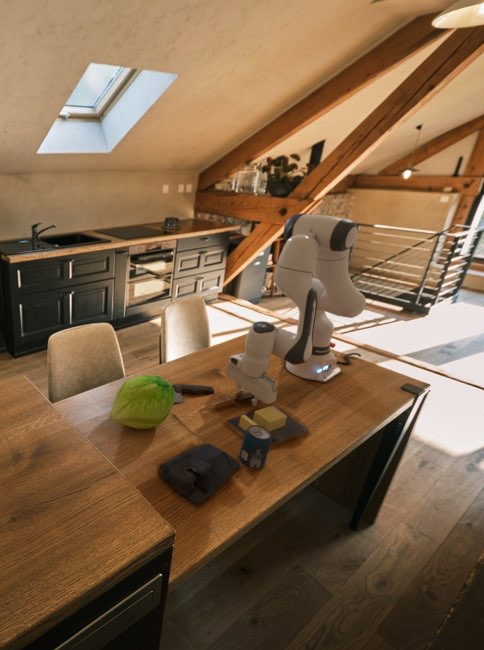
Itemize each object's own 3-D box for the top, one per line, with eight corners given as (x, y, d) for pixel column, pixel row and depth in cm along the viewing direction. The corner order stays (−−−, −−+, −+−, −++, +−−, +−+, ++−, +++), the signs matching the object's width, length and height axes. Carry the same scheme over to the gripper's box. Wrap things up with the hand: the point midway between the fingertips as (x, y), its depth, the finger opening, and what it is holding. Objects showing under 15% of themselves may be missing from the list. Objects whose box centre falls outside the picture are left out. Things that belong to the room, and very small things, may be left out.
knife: (251, 397, 142) (253, 390, 141) (256, 401, 140) (258, 393, 139) (211, 409, 135) (212, 401, 134) (216, 413, 133) (217, 405, 132)
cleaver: (209, 387, 148) (210, 382, 147) (219, 402, 139) (220, 397, 138) (134, 389, 145) (134, 384, 145) (140, 405, 137) (140, 400, 136)
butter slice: (242, 424, 126) (244, 414, 125) (256, 436, 121) (259, 426, 120) (238, 425, 125) (240, 415, 124) (253, 437, 120) (255, 427, 119)
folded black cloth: (248, 475, 108) (251, 462, 106) (194, 510, 97) (196, 496, 95) (206, 442, 120) (208, 430, 118) (153, 469, 109) (155, 457, 107)
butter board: (272, 408, 137) (276, 395, 135) (308, 433, 125) (312, 420, 123) (225, 423, 128) (228, 410, 126) (258, 452, 117) (262, 438, 114)
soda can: (251, 452, 116) (259, 421, 112) (268, 469, 110) (278, 437, 106) (233, 458, 114) (240, 426, 109) (249, 475, 108) (258, 442, 103)
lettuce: (105, 441, 127) (88, 392, 128) (163, 411, 138) (146, 366, 139) (135, 448, 110) (115, 392, 111) (197, 413, 121) (179, 362, 122)
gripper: (285, 380, 126) (276, 414, 132) (239, 351, 143) (232, 382, 149) (271, 384, 124) (262, 418, 129) (226, 354, 141) (219, 386, 146)
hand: (246, 399), depth 139 cm, fingers open, 5 cm apart
